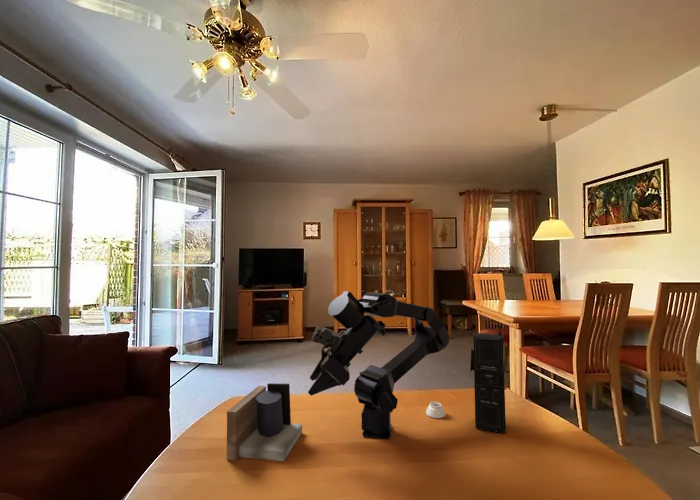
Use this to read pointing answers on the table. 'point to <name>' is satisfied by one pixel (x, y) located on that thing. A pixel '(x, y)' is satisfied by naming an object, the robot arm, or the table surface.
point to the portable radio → (489, 381)
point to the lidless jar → (435, 410)
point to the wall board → (256, 433)
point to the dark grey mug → (273, 409)
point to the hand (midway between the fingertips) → (310, 386)
